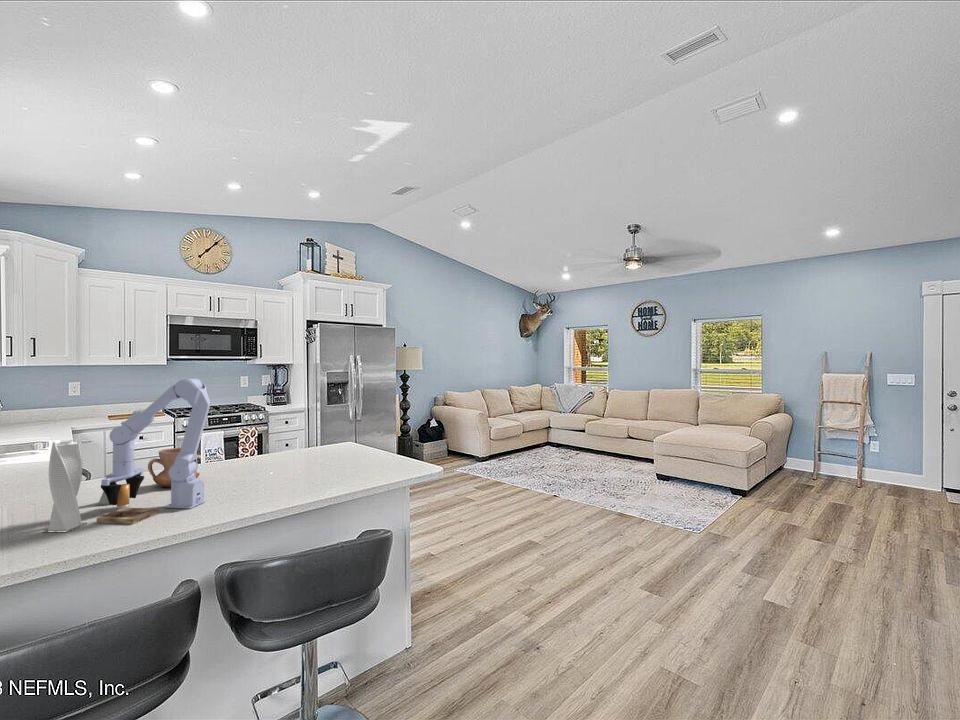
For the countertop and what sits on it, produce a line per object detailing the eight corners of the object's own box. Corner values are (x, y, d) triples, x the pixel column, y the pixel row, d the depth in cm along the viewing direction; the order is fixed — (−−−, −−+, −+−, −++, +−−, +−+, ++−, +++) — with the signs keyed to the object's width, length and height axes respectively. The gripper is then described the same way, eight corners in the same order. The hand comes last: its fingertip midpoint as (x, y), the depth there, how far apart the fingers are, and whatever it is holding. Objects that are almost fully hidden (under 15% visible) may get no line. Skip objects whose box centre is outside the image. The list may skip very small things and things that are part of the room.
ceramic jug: (203, 478, 195) (203, 444, 195) (199, 487, 182) (199, 451, 182) (151, 482, 187) (152, 448, 187) (143, 492, 174) (144, 455, 174)
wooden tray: (158, 513, 151) (158, 508, 151) (132, 524, 141) (132, 519, 141) (123, 512, 152) (123, 507, 152) (96, 522, 142) (96, 518, 142)
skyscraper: (91, 523, 141) (92, 433, 141) (69, 533, 133) (69, 437, 133) (63, 523, 141) (64, 432, 141) (39, 533, 133) (39, 437, 133)
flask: (93, 506, 158) (93, 477, 158) (104, 500, 165) (104, 472, 165) (117, 504, 160) (118, 476, 160) (127, 498, 167) (128, 471, 167)
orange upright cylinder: (132, 507, 157) (132, 484, 157) (123, 510, 154) (123, 486, 154) (122, 507, 157) (122, 483, 157) (114, 510, 154) (114, 486, 154)
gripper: (130, 456, 163) (129, 494, 163) (92, 465, 148) (92, 507, 148) (148, 456, 162) (148, 495, 162) (113, 466, 148) (112, 508, 148)
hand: (123, 501), depth 155 cm, fingers open, 7 cm apart
